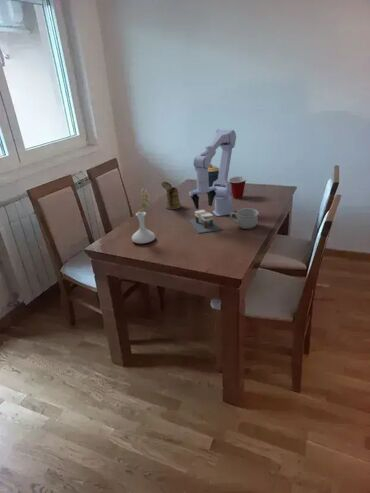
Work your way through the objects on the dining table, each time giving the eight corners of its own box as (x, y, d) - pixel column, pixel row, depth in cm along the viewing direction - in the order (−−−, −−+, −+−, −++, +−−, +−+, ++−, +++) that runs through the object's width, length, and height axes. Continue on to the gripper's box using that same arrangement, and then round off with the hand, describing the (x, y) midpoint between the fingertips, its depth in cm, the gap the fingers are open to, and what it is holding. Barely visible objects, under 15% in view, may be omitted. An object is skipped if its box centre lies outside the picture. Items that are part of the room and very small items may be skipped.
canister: (199, 193, 236) (198, 166, 228) (202, 187, 248) (201, 161, 240) (220, 193, 234) (219, 166, 226) (221, 187, 245) (221, 161, 238)
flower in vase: (146, 247, 168) (140, 195, 157) (127, 243, 174) (120, 192, 163) (162, 236, 178) (157, 187, 167) (143, 232, 184) (138, 184, 173)
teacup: (259, 223, 186) (260, 208, 183) (256, 231, 177) (256, 216, 174) (232, 221, 191) (232, 207, 187) (228, 229, 182) (227, 214, 178)
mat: (188, 221, 195) (188, 219, 194) (210, 217, 197) (210, 216, 197) (198, 233, 179) (198, 232, 179) (221, 230, 181) (221, 229, 181)
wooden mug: (159, 211, 210) (156, 181, 202) (169, 203, 221) (167, 174, 213) (173, 213, 207) (171, 182, 199) (183, 205, 218) (181, 175, 210)
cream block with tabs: (213, 226, 185) (213, 215, 182) (205, 228, 183) (204, 217, 180) (203, 220, 193) (203, 209, 190) (195, 222, 191) (194, 211, 188)
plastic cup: (225, 197, 227) (225, 178, 222) (240, 193, 231) (240, 175, 226) (234, 201, 218) (234, 182, 213) (249, 198, 222) (250, 179, 217)
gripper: (211, 176, 184) (211, 202, 190) (185, 181, 179) (187, 207, 185) (218, 179, 178) (219, 205, 184) (192, 184, 173) (193, 211, 179)
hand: (203, 207), depth 184 cm, fingers open, 7 cm apart
